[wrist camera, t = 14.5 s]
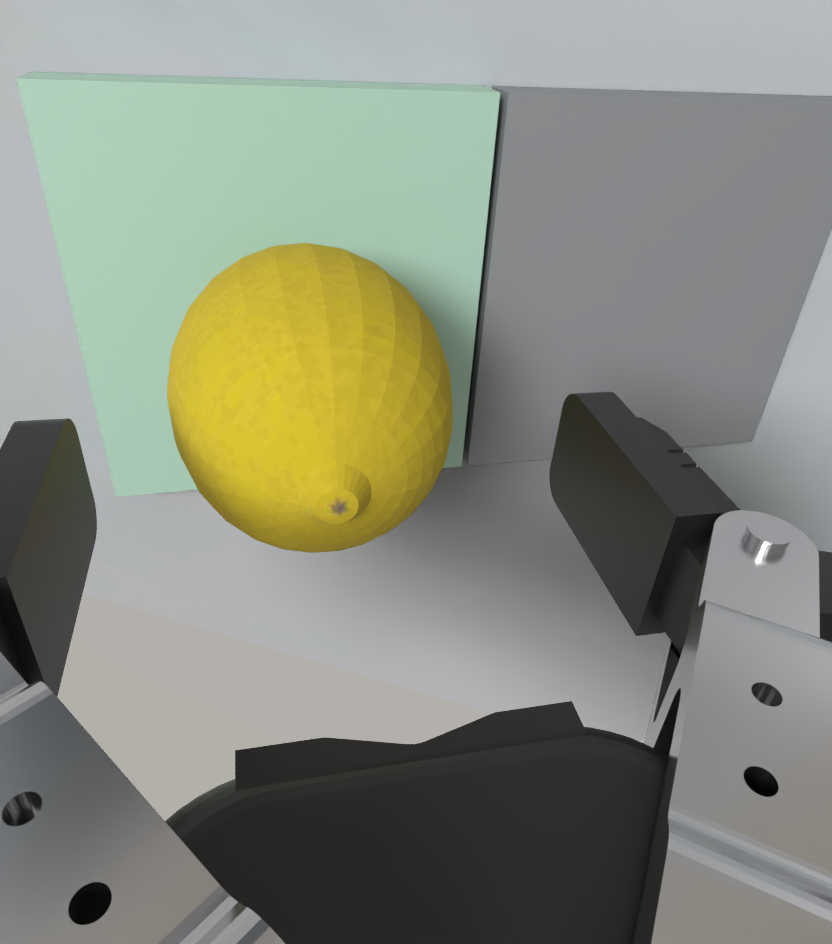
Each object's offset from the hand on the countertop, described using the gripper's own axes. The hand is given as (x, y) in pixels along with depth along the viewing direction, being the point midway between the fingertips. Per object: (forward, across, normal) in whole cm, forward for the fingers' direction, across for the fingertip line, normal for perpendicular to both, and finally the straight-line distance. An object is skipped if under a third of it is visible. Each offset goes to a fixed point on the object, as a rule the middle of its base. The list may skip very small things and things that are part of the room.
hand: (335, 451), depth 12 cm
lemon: (+7, 0, 0) cm, 7 cm away
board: (+8, -5, 0) cm, 9 cm away
